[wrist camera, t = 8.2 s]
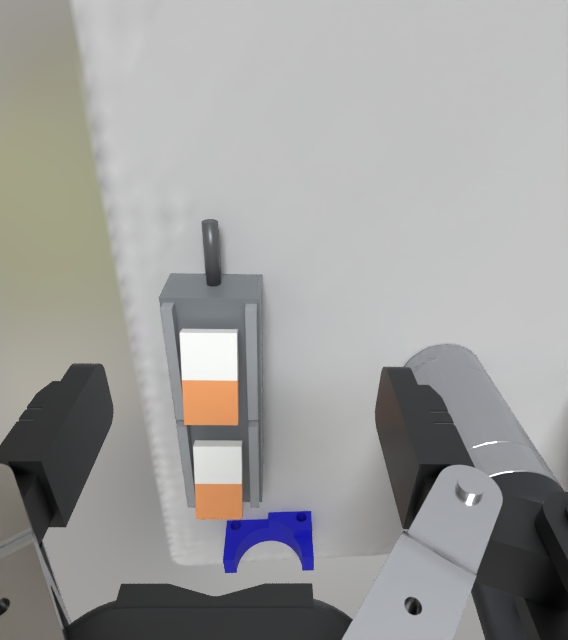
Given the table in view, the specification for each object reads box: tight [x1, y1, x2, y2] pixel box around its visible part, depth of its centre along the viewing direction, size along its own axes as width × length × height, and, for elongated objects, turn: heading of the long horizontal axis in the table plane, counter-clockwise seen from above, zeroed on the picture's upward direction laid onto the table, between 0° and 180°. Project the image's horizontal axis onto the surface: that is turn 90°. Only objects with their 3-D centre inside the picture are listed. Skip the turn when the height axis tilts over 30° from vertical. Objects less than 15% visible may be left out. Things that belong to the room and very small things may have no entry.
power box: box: [159, 219, 263, 508], centre depth 47 cm, size 34×9×6 cm, turn 179°
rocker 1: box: [180, 329, 239, 425], centre depth 41 cm, size 9×5×1 cm, turn 179°
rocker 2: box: [193, 440, 243, 519], centre depth 48 cm, size 9×5×1 cm, turn 179°
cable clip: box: [223, 511, 314, 573], centre depth 62 cm, size 12×4×6 cm, turn 92°
